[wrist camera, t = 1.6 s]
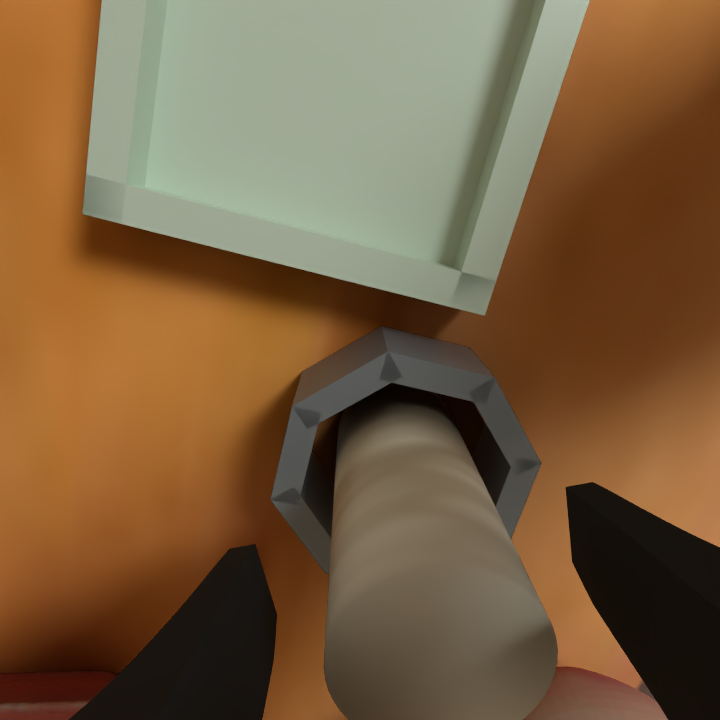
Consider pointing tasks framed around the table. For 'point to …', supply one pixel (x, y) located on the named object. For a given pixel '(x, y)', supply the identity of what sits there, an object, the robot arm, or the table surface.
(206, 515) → the table surface
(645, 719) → the decorative fruit
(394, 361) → the octagonal ring
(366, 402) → the dowel
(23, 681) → the plant saucer
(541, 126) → the tray
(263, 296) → the table surface
